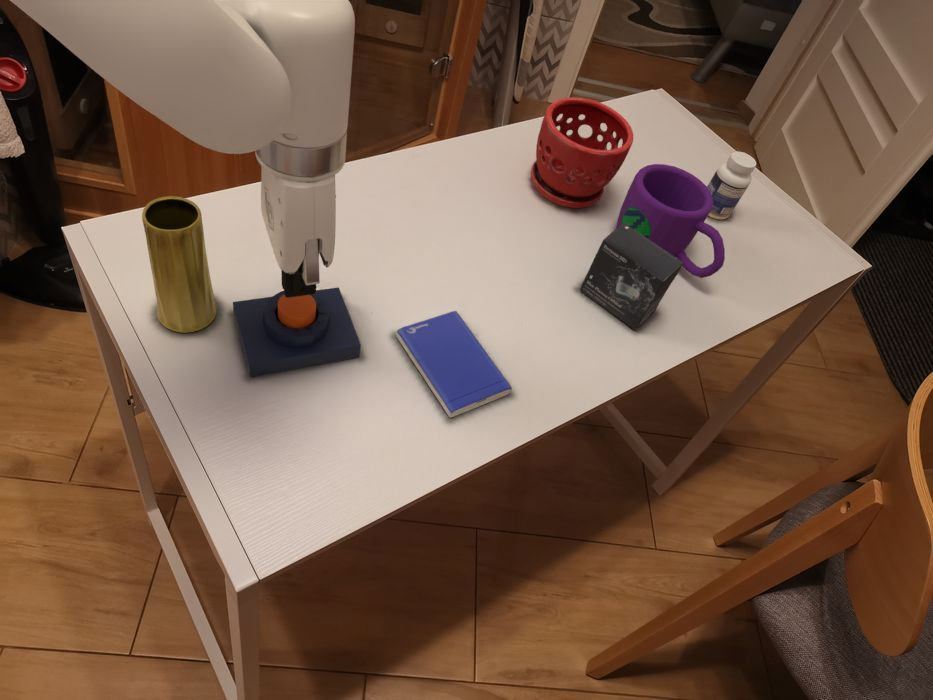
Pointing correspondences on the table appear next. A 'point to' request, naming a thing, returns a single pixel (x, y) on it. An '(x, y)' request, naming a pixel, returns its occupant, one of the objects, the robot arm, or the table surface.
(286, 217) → the robot arm
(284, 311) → the orange button
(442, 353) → the hard drive
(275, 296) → the button block
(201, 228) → the vase
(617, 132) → the flower pot
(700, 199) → the mug
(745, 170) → the pill bottle
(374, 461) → the table surface
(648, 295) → the box
